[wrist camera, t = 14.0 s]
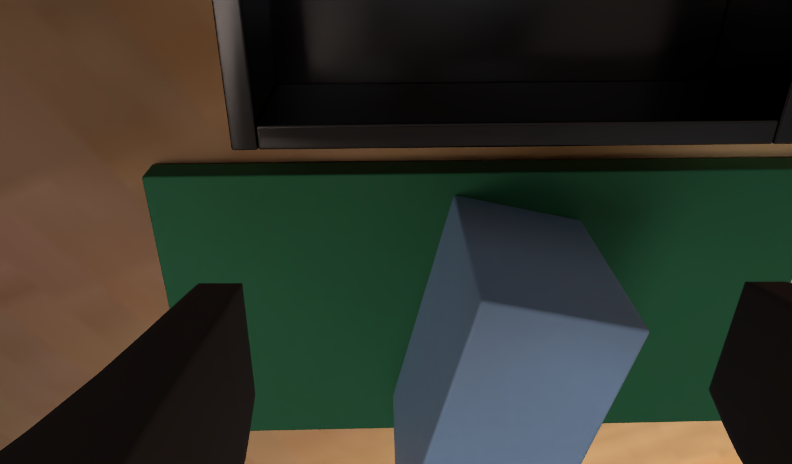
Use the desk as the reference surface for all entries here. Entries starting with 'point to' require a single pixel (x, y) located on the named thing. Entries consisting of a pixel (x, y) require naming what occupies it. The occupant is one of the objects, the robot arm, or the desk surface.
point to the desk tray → (504, 72)
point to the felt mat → (416, 249)
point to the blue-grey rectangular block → (513, 342)
